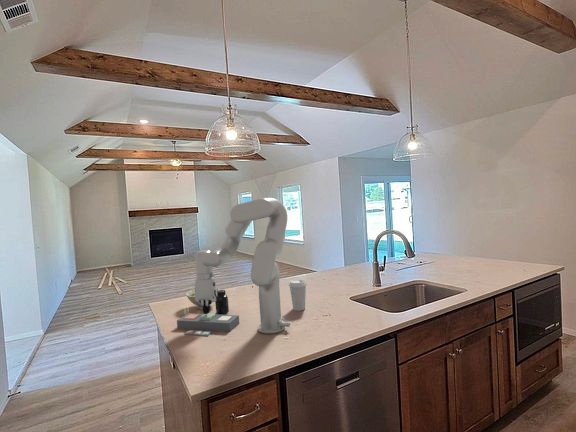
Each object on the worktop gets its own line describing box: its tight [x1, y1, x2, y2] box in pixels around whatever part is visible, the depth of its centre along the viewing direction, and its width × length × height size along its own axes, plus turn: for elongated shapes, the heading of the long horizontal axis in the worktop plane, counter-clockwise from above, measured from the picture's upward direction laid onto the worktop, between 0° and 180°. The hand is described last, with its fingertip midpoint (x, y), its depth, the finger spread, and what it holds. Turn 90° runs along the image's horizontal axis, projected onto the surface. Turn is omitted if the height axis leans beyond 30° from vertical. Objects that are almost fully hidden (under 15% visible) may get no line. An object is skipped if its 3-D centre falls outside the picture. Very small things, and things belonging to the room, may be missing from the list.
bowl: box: [185, 287, 221, 310], centre depth 185 cm, size 19×19×10 cm
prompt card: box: [184, 329, 213, 337], centre depth 146 cm, size 12×4×1 cm, turn 74°
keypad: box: [176, 312, 240, 333], centre depth 155 cm, size 28×10×4 cm, turn 74°
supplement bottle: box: [214, 289, 230, 315], centre depth 172 cm, size 7×7×12 cm
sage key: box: [200, 312, 216, 320], centre depth 155 cm, size 5×5×3 cm
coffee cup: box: [288, 278, 307, 312], centre depth 172 cm, size 10×10×15 cm
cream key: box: [217, 316, 232, 321], centre depth 152 cm, size 5×5×3 cm
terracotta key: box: [184, 314, 199, 320], centre depth 157 cm, size 5×5×3 cm
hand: (206, 313), depth 155 cm, fingers closed
